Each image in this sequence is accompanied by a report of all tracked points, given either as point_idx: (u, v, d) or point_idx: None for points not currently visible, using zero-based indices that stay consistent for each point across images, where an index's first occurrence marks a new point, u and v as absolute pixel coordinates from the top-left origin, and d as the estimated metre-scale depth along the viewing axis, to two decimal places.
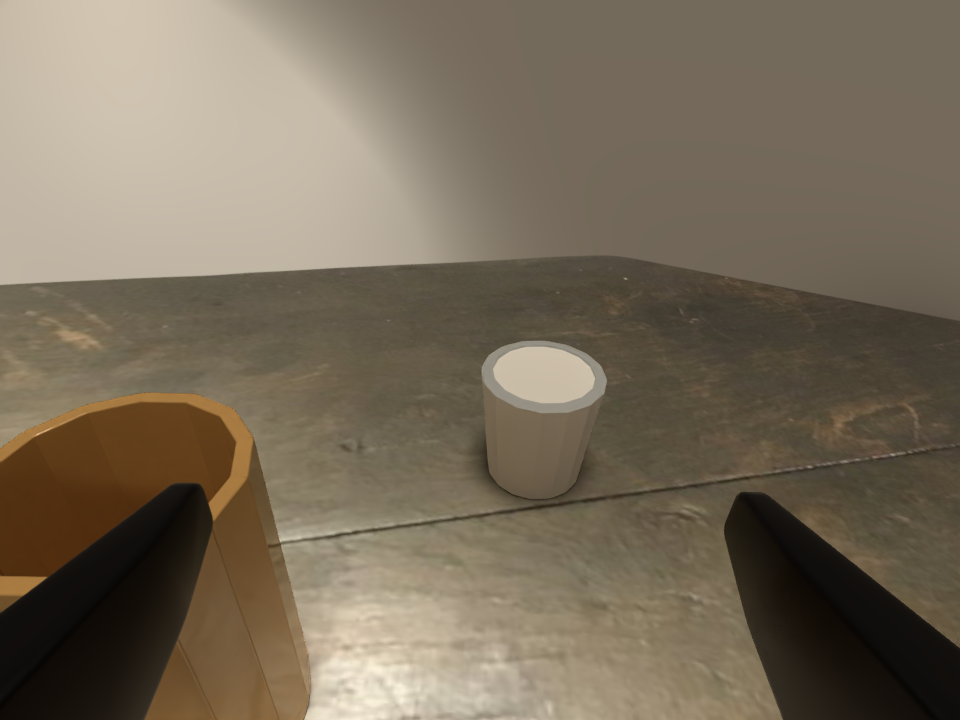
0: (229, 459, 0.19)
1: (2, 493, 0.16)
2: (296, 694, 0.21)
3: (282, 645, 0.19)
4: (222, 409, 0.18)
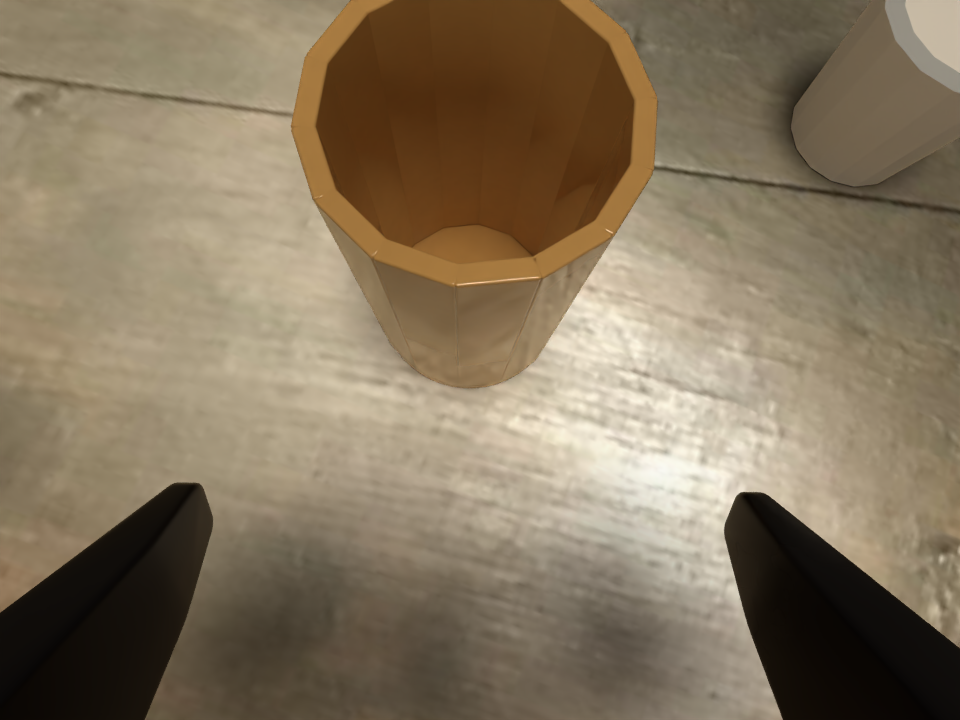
0: (585, 97, 0.14)
1: (337, 89, 0.13)
2: None
3: None
4: (612, 29, 0.12)
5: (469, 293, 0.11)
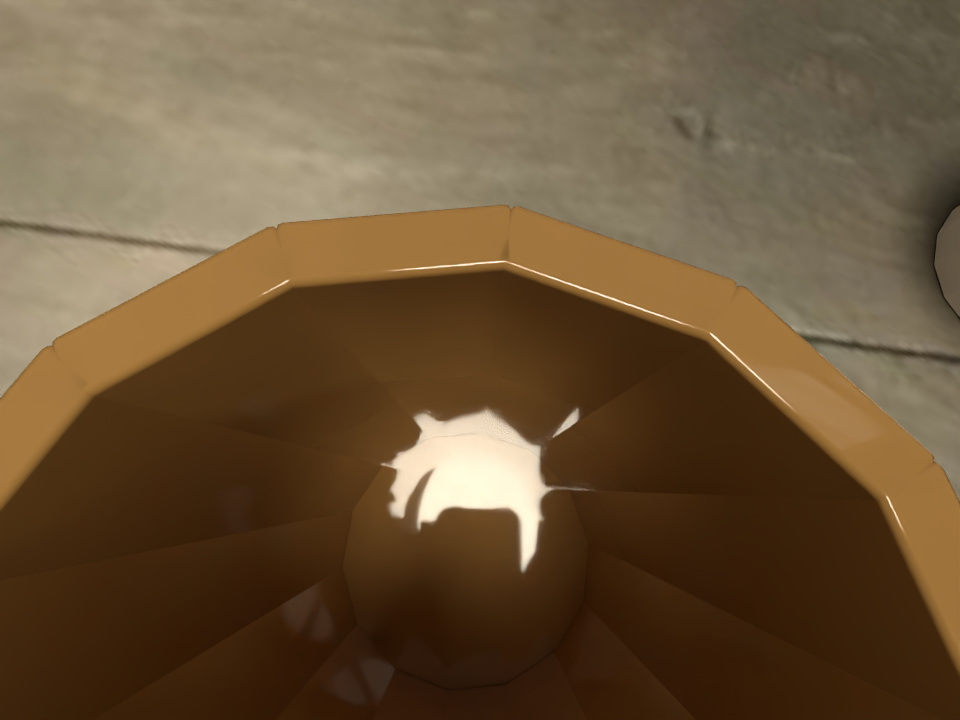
0: (732, 486, 0.05)
1: (42, 560, 0.04)
2: None
3: None
4: (888, 452, 0.04)
5: None
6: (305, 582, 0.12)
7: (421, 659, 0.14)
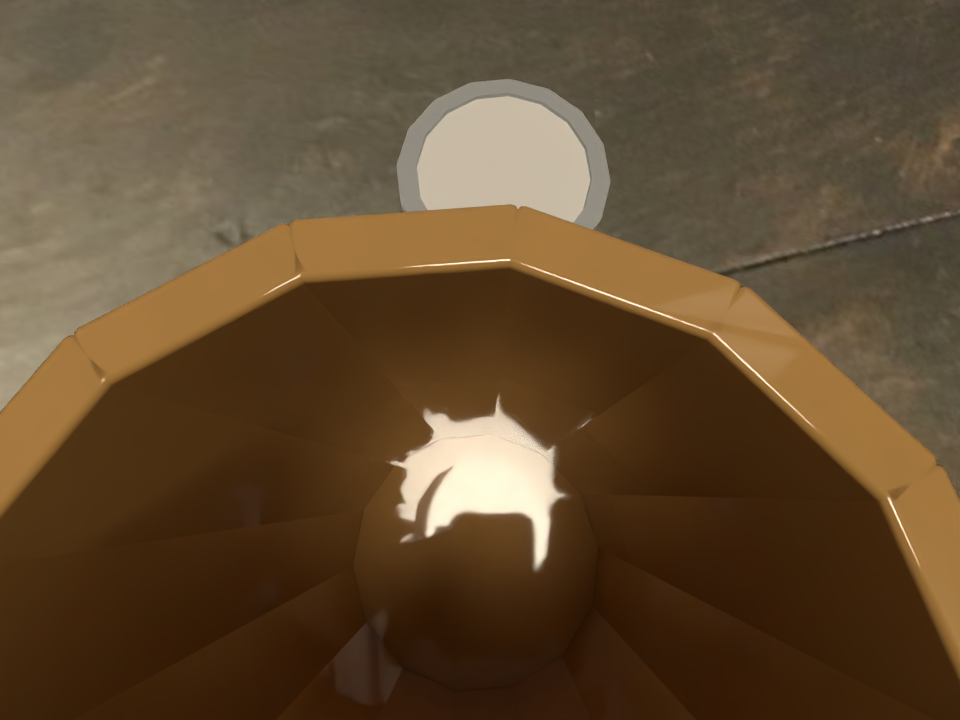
0: (737, 490, 0.05)
1: (61, 543, 0.04)
2: None
3: None
4: (890, 453, 0.04)
5: None
6: (315, 578, 0.12)
7: (429, 659, 0.15)
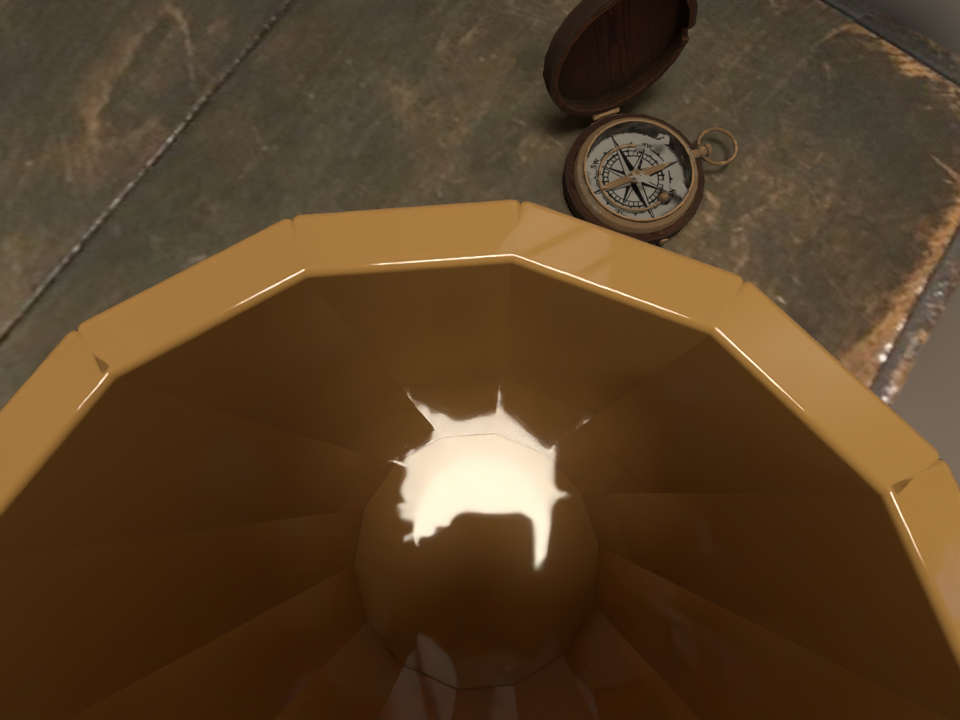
0: (739, 485, 0.05)
1: (64, 538, 0.04)
2: None
3: None
4: (892, 447, 0.04)
5: None
6: (316, 576, 0.12)
7: (430, 657, 0.15)
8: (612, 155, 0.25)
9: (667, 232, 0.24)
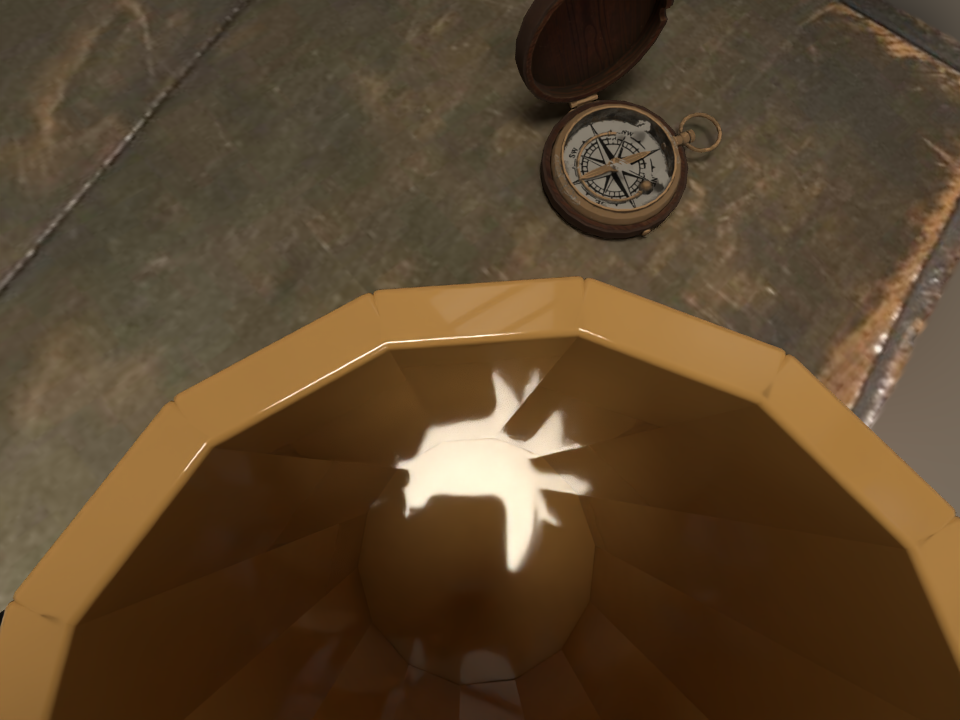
0: (761, 518, 0.06)
1: (148, 587, 0.05)
2: None
3: None
4: (917, 507, 0.04)
5: None
6: (330, 584, 0.12)
7: (434, 655, 0.15)
8: (591, 144, 0.24)
9: (649, 222, 0.23)
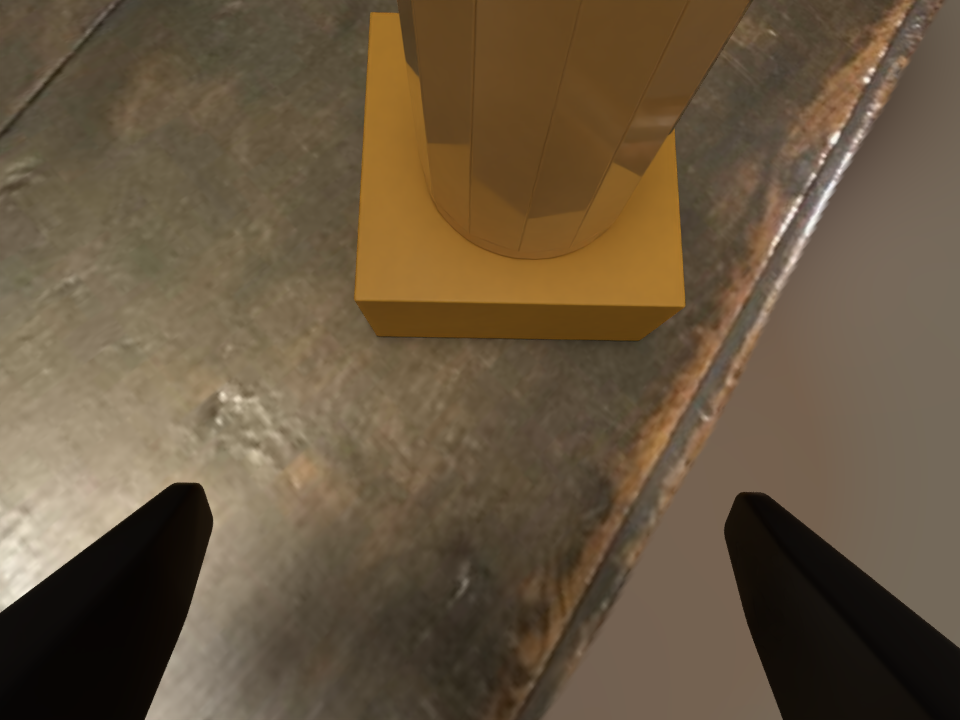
0: None
1: None
2: None
3: (685, 109, 0.14)
4: None
5: None
6: None
7: None
8: None
9: None
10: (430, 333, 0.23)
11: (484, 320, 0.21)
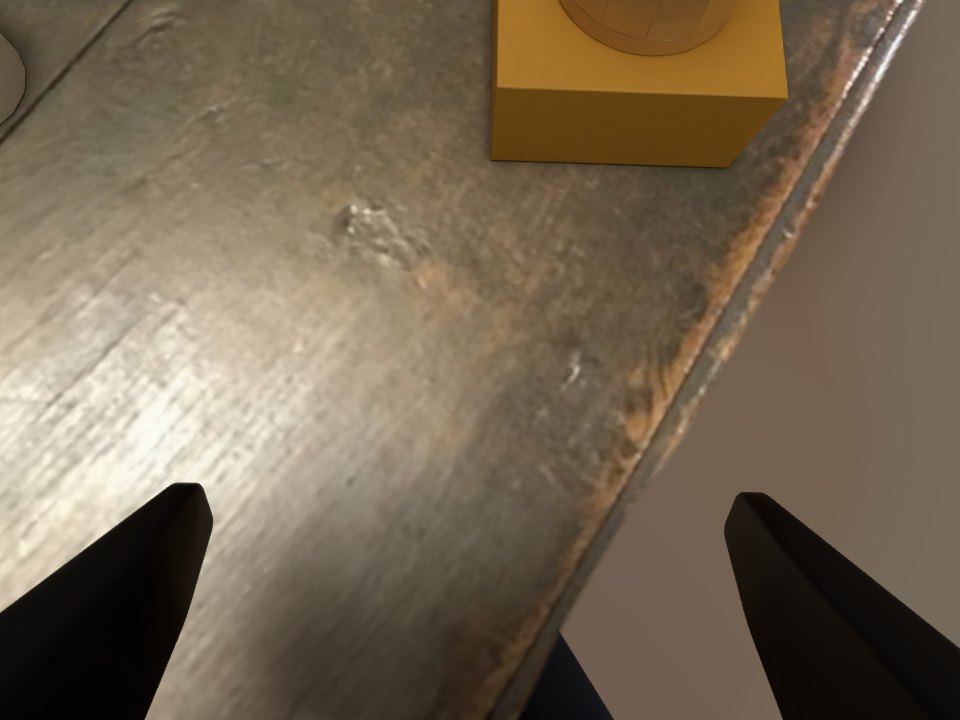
0: None
1: None
2: None
3: None
4: None
5: None
6: None
7: None
8: None
9: None
10: (541, 153, 0.25)
11: (600, 125, 0.23)
